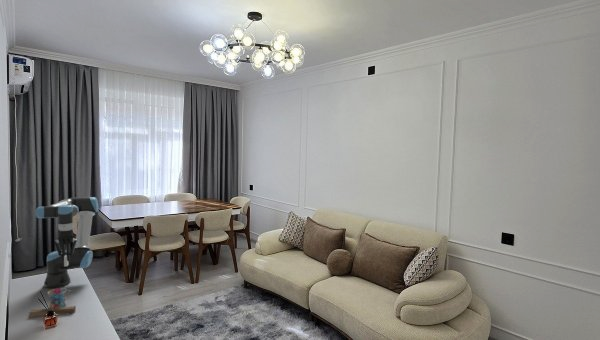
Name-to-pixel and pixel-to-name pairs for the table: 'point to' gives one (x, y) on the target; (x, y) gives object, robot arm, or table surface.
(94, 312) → the table surface
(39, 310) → the board
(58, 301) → the mug
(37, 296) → the table surface
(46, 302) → the table surface
